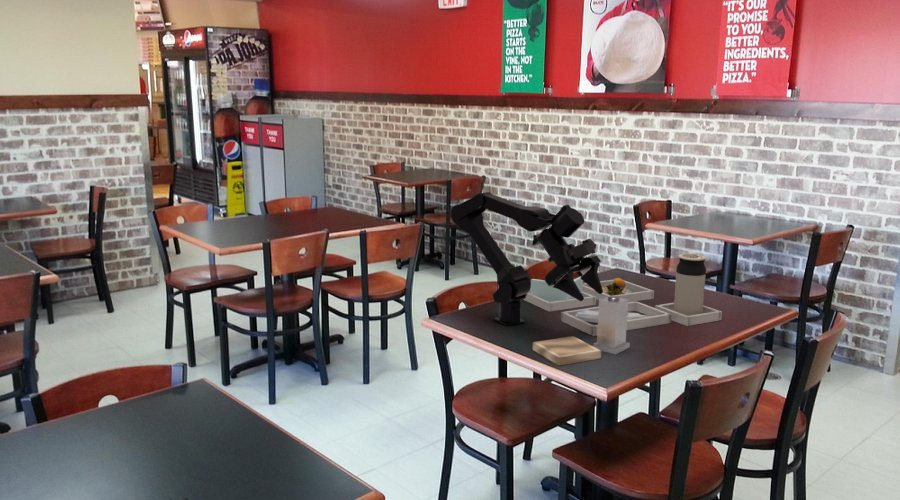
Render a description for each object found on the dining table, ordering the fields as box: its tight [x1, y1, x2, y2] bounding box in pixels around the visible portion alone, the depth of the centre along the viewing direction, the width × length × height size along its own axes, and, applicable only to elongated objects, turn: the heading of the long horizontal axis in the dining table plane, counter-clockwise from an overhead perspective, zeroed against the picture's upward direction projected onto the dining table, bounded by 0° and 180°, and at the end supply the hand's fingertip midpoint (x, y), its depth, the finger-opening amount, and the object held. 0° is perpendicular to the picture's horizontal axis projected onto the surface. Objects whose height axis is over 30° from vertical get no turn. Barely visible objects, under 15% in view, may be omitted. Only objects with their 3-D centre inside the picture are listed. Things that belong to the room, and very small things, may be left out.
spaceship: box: [575, 310, 651, 324], centre depth 207 cm, size 23×7×4 cm, turn 95°
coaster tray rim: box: [522, 288, 597, 312], centre depth 227 cm, size 17×17×2 cm
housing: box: [592, 296, 631, 355], centre depth 184 cm, size 6×7×13 cm
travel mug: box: [673, 253, 707, 316], centre depth 210 cm, size 8×8×18 cm
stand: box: [532, 335, 602, 366], centre depth 181 cm, size 12×12×2 cm
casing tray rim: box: [560, 301, 672, 337], centre depth 207 cm, size 15×27×2 cm, turn 116°
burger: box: [602, 275, 634, 296], centre depth 234 cm, size 12×12×8 cm
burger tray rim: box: [582, 279, 655, 302], centre depth 235 cm, size 17×17×2 cm
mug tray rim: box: [654, 302, 723, 327], centre depth 212 cm, size 13×13×2 cm
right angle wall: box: [530, 276, 584, 302], centre depth 227 cm, size 12×12×8 cm
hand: (592, 296), depth 187 cm, fingers open, 9 cm apart
